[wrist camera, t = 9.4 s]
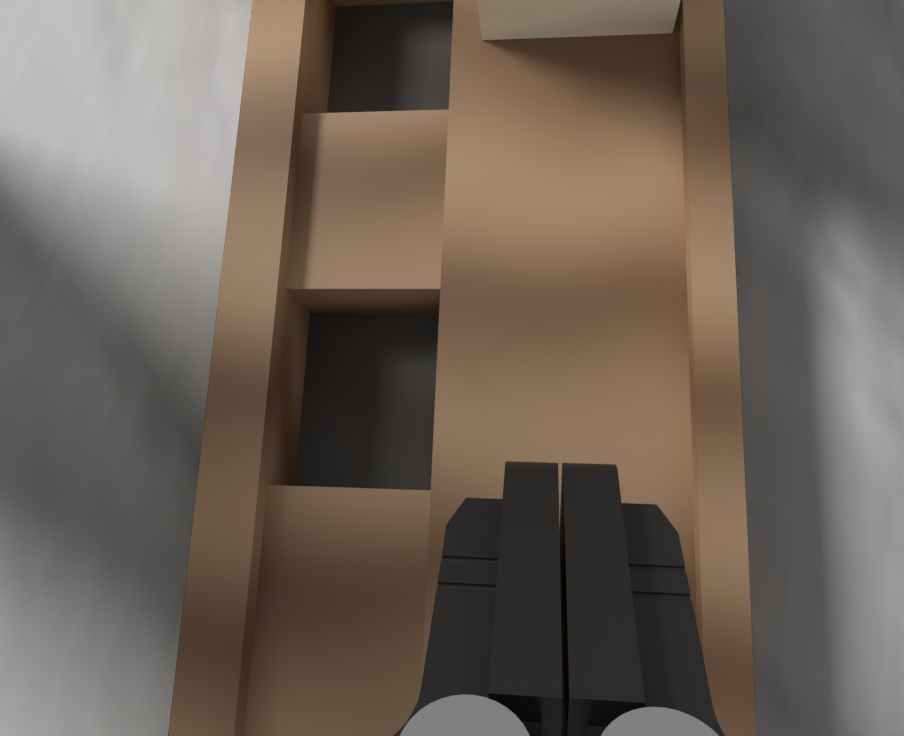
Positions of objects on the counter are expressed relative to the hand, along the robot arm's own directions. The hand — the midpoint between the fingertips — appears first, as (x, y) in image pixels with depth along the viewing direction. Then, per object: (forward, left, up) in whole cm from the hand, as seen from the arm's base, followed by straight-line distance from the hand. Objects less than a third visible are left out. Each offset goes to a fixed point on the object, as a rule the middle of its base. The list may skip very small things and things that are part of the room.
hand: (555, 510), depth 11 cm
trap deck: (-9, +6, -10) cm, 14 cm away
